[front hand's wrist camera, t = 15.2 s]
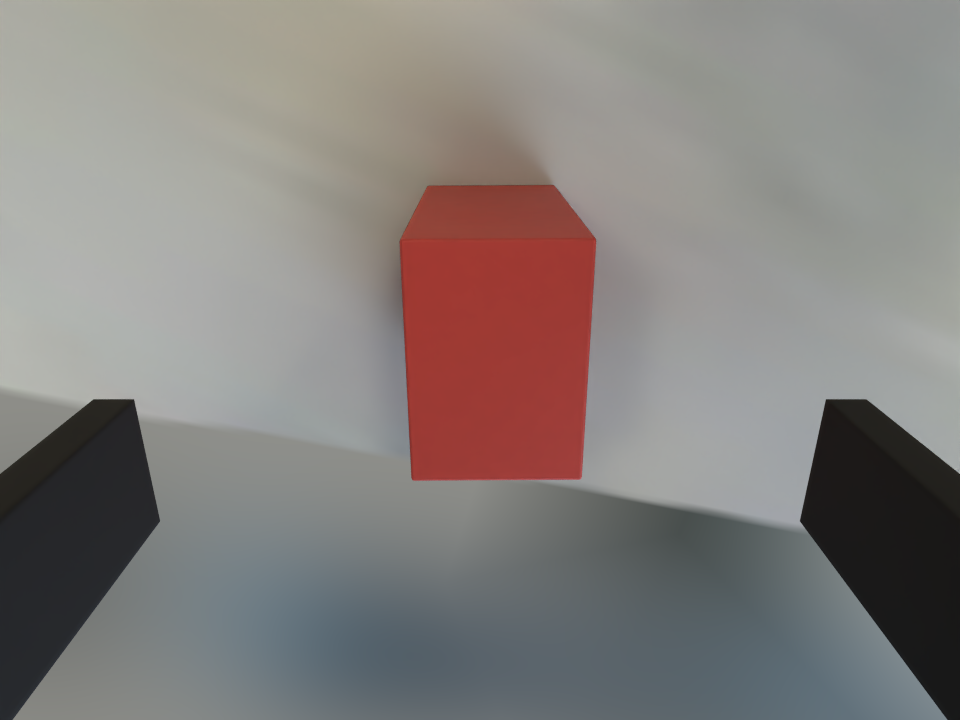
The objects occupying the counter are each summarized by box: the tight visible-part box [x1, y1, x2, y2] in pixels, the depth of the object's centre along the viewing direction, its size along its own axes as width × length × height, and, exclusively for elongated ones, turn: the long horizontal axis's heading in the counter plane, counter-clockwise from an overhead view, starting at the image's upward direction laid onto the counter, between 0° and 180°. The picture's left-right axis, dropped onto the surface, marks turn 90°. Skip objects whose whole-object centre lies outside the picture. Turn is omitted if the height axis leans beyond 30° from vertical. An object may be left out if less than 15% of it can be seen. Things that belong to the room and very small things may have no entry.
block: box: [400, 185, 596, 481], centre depth 21 cm, size 5×7×9 cm
